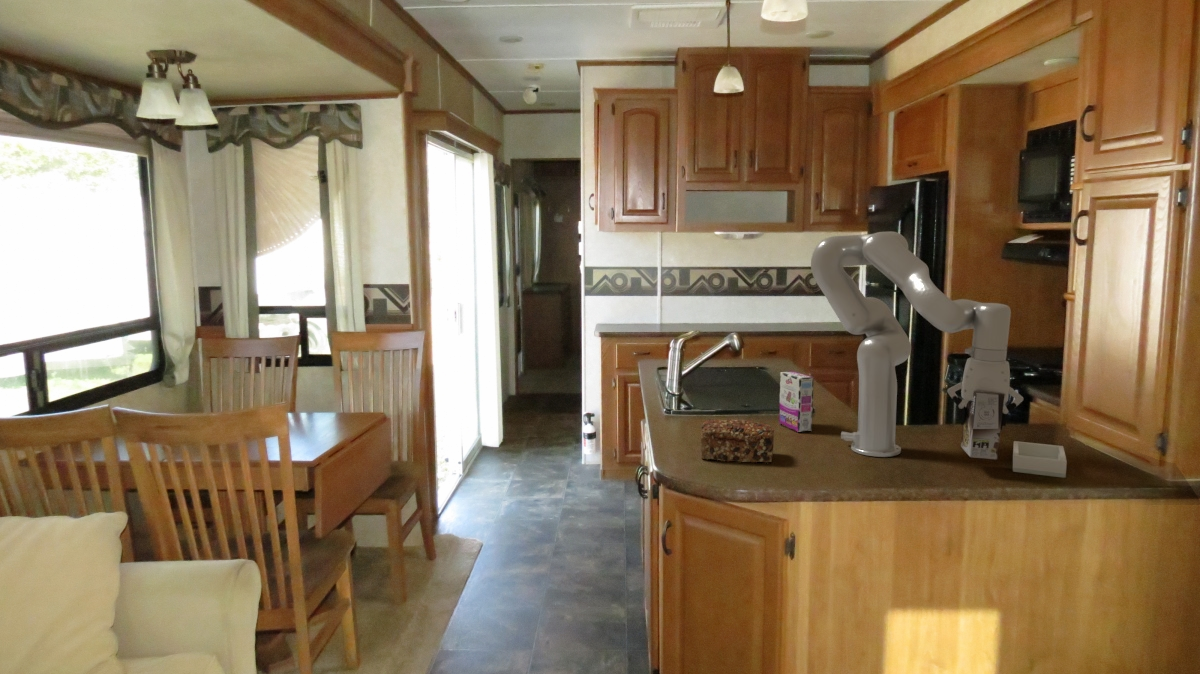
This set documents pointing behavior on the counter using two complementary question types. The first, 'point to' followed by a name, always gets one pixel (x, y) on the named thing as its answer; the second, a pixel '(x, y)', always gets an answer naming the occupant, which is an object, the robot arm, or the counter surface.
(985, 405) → the coffee box
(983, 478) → the counter surface
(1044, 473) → the holder
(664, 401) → the counter surface
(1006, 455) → the counter surface
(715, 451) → the bread
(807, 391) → the candy bar box
